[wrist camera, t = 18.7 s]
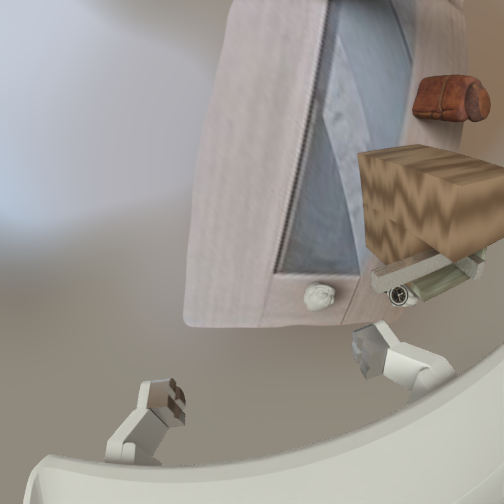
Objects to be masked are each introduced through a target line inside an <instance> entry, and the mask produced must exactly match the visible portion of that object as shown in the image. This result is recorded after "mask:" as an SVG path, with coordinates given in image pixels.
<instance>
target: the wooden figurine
mask: <svg viewBox="0 0 504 504" xmlns="http://www.w3.org/2000/svg"><path fill="white" fill-rule="evenodd" d="M490 106H491V103H490V98H489V95H488V93H487V91H486V90H485V88H484V87H483V86H482V84H481V82H480V81H479V80H478V79H476V78H474V77H471V76H465V75H443V76H433V77H427V78H424V79H423V80H422V81H421V83H420V85H419V89H418V93H417V96H416V99H415V102H414V105H413V109H412V111H413V114H414V116H415V117H417V118H421V119H431V120H442V121H450V122H463V121H466V120H467V119H469V120H471V121H472V122H478V121H481V120H484V119H485V118H487V116H488V114H489V112H490Z"/></svg>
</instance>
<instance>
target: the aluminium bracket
mask: <svg viewBox="0 0 504 504" xmlns="http://www.w3.org/2000/svg"><path fill="white" fill-rule="evenodd" d="M451 263H453V262H452V261H450V260H449V259H448V258H446V257H445V256H444V255H442V254H441V253H440V252H438V251H437V250H435V249H434V248H432V249H429V250H427V251H424V252H422V253H419V254H416V255H414V256H411V257H408V258H406V259H403V260H400V261H397V262H395V263H392V264H389V265H386V266H383V267H380V268H378V269H375V270H372V282H371V287H372V288H373V290H374V291H375V292H376V293H377V294H380V293H382V292H385V291H388V290H390V289H393V288H395V287H398V286H400V285H403V284H405V283H408V282H410V281H413V280H415V279H417V278H420V277H422V276H424V275H427V274H429V273H431V272H434V271H436V270H438V269H440V268H443V267H445V266H447V265H449V264H451ZM484 263H485V260H483V259H482V258H481V257H479V256H478V255H476V254H475V253H473V254H471V255H469V256H467V257H465V258H463V259H461V260H459V261H457V262H454V263H453V264H454V265H455V266H457V267H458V268H459V269H461V270H462V271H463V272H464V273H466V274H467V275H468V276H469V277H471V278H472V279H473V280H477V279H479V278H480V277H481V276H482V273H483V268H484Z"/></svg>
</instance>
